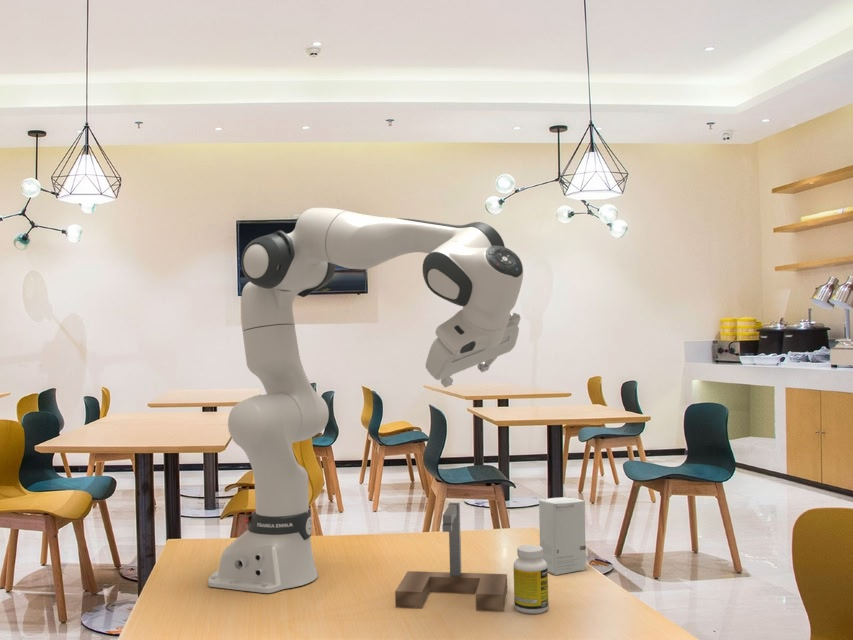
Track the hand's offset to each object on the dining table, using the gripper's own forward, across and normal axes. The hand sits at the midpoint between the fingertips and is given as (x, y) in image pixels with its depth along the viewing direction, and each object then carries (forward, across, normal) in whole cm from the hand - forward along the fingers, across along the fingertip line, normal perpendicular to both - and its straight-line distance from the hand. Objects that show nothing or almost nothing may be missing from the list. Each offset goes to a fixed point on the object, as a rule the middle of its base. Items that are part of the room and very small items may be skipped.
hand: (464, 376), depth 148 cm
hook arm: (+28, +16, +27) cm, 42 cm away
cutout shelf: (+28, +16, +27) cm, 42 cm away
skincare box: (+34, -12, +33) cm, 49 cm away
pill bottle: (+21, +8, +39) cm, 45 cm away
